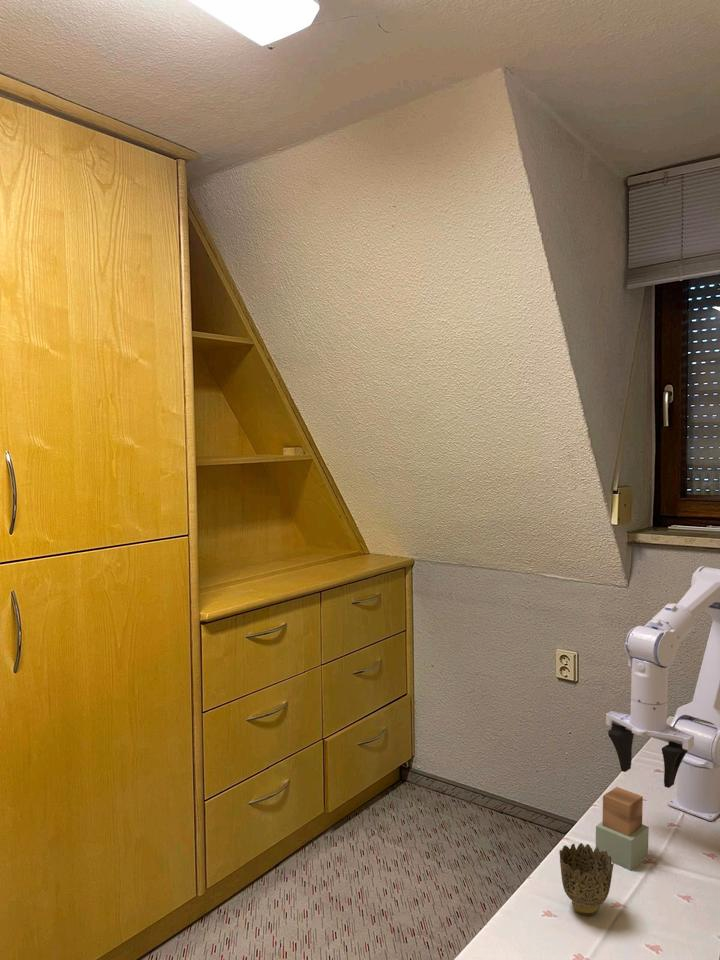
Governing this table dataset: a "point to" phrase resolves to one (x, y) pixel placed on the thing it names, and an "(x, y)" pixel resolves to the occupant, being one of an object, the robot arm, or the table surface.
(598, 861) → the cup
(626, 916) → the table surface
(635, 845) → the grey block
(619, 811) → the walnut block
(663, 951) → the table surface
